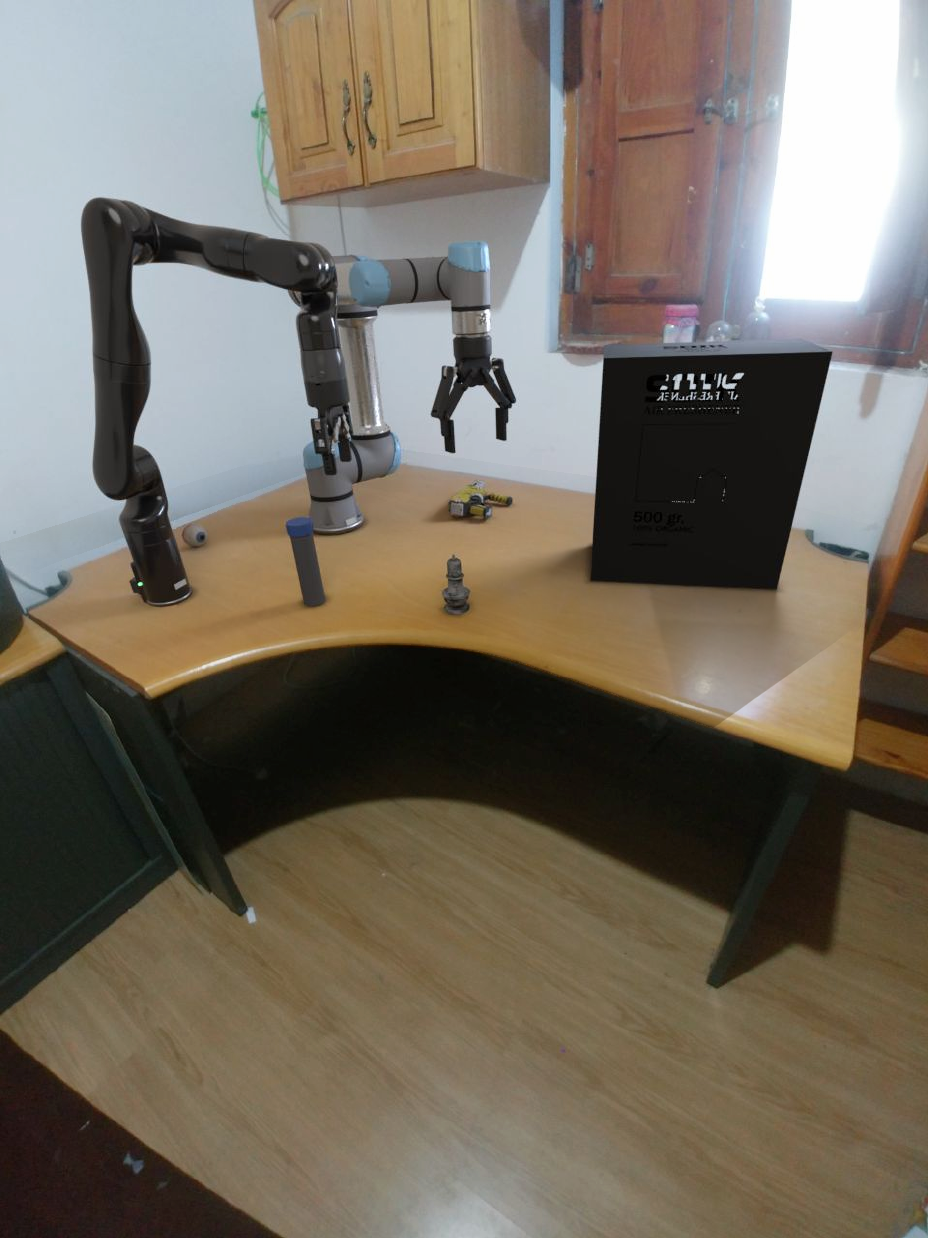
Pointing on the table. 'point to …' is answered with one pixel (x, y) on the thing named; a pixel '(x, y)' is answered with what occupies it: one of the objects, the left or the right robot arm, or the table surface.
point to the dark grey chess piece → (455, 588)
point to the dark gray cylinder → (308, 570)
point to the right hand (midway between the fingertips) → (476, 445)
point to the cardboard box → (703, 460)
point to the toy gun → (475, 501)
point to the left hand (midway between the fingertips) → (339, 467)
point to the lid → (299, 527)
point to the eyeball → (194, 535)
